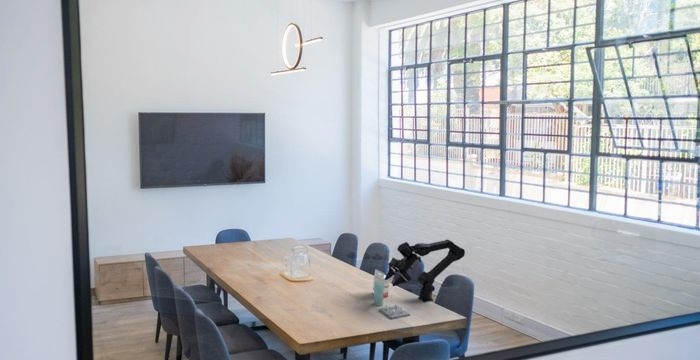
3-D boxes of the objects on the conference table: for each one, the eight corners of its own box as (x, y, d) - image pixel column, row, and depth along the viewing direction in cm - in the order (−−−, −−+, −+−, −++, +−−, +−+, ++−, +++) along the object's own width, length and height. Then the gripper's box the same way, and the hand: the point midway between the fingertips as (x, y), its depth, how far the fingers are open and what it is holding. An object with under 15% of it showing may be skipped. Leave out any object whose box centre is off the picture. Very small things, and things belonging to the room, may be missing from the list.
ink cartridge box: (388, 296, 355) (390, 272, 352) (381, 298, 352) (383, 273, 349) (378, 291, 362) (380, 267, 359) (372, 293, 359) (374, 268, 356)
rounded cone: (379, 302, 346) (380, 281, 344) (384, 305, 342) (385, 284, 340) (371, 303, 344) (373, 282, 341) (376, 306, 340) (378, 286, 337)
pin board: (397, 307, 341) (397, 301, 340) (410, 315, 331) (410, 309, 330) (378, 310, 335) (379, 304, 334) (391, 319, 325) (392, 312, 324)
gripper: (392, 247, 350) (373, 267, 348) (408, 258, 333) (388, 279, 331) (403, 260, 355) (384, 280, 352) (419, 271, 338) (399, 292, 336)
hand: (388, 282), depth 343 cm, fingers open, 9 cm apart
